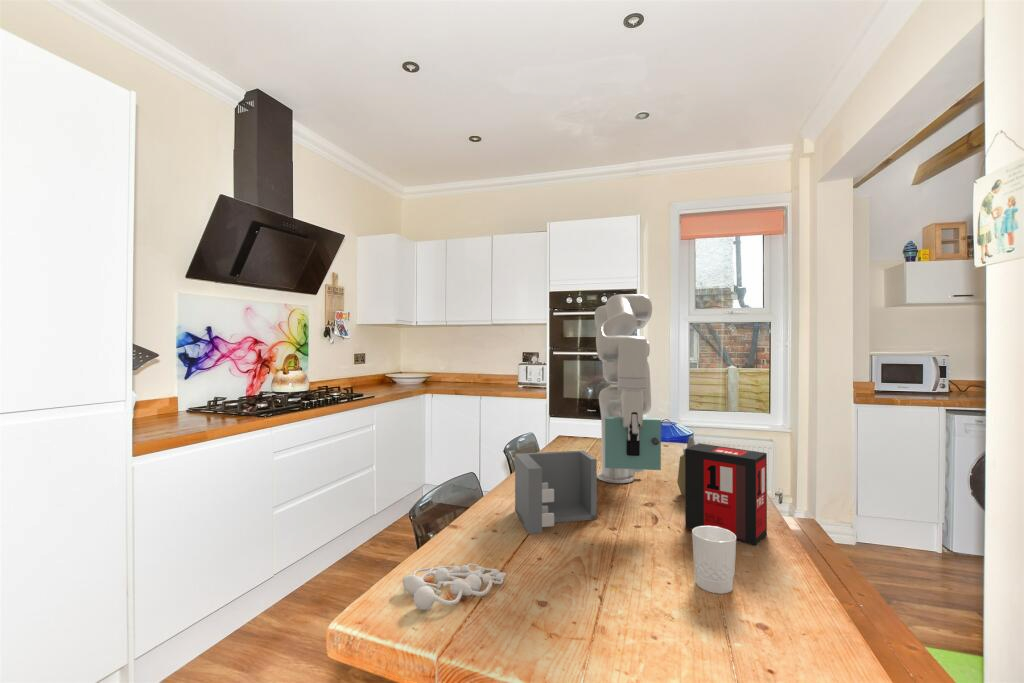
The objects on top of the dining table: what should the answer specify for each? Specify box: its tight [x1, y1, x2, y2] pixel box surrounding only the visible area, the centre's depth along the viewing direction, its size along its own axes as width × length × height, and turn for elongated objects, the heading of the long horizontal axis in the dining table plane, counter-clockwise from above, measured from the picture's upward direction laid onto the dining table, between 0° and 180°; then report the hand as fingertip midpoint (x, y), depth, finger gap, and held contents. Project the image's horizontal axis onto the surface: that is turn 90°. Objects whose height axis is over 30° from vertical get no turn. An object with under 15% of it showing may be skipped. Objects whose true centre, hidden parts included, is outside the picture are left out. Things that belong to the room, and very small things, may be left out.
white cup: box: [691, 526, 737, 595], centre depth 92 cm, size 8×8×10 cm
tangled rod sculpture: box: [401, 563, 507, 611], centre depth 91 cm, size 19×14×4 cm
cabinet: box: [514, 450, 598, 535], centre depth 126 cm, size 20×16×16 cm
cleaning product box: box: [684, 443, 768, 547], centre depth 118 cm, size 16×9×20 cm, turn 47°
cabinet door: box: [605, 416, 662, 471], centre depth 124 cm, size 14×4×13 cm, turn 81°
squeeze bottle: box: [677, 436, 696, 498], centre depth 145 cm, size 8×8×18 cm
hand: (632, 453), depth 125 cm, fingers closed on cabinet door, 3 cm apart
